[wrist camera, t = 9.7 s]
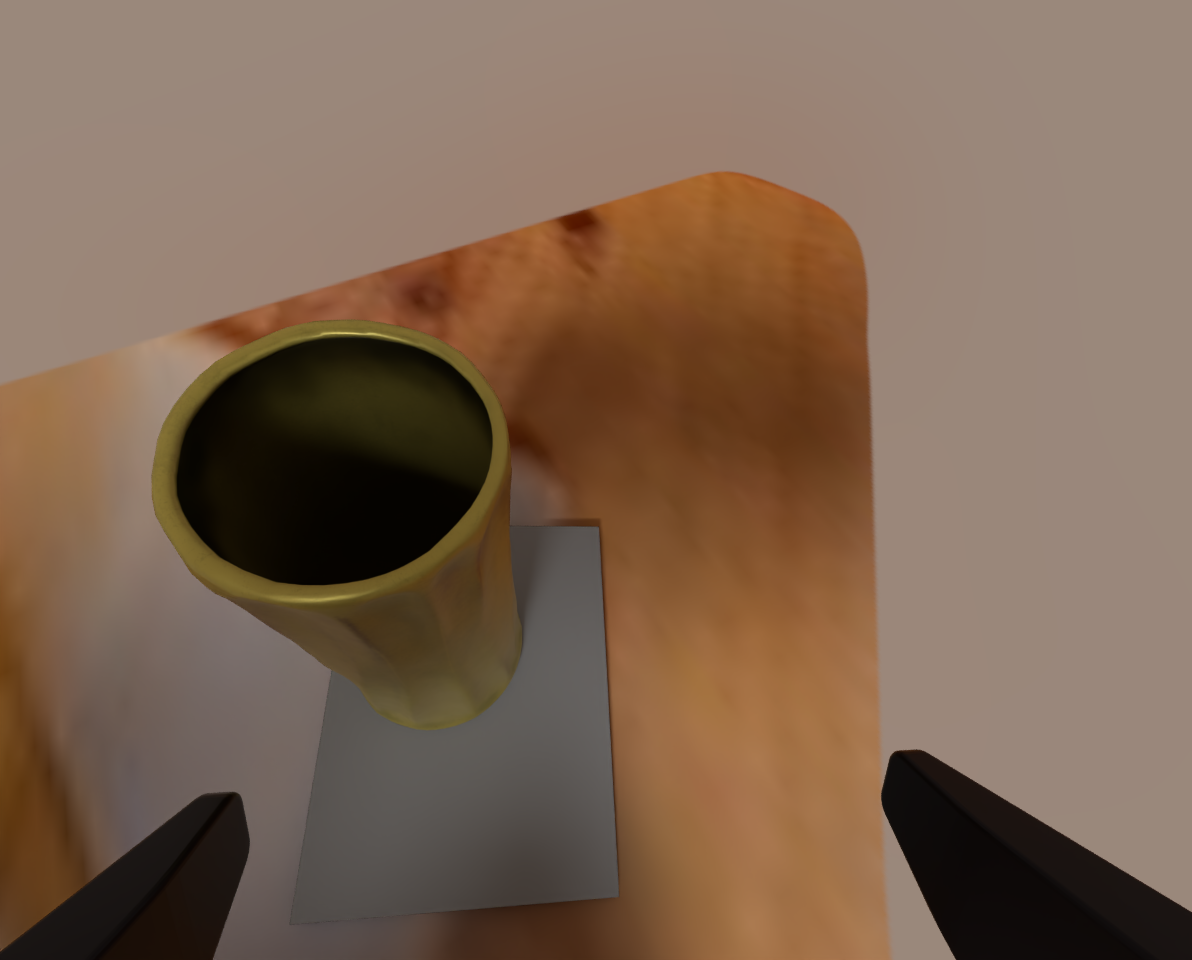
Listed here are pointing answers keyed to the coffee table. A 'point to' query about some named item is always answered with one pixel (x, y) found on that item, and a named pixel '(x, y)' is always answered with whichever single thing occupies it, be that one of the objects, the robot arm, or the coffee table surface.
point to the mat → (477, 771)
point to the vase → (354, 509)
